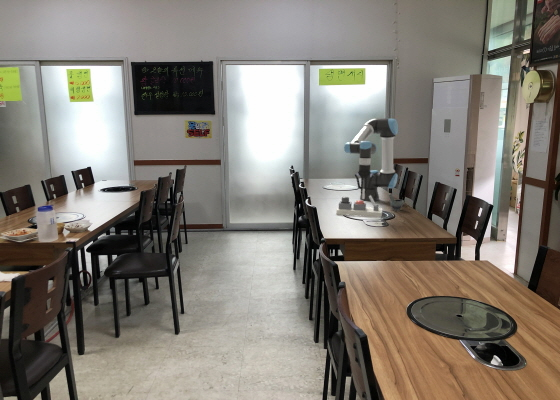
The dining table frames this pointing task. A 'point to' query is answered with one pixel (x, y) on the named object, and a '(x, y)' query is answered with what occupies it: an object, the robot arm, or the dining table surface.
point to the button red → (359, 202)
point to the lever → (372, 200)
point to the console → (358, 210)
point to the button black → (345, 200)
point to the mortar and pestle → (395, 203)
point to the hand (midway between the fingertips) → (363, 198)
